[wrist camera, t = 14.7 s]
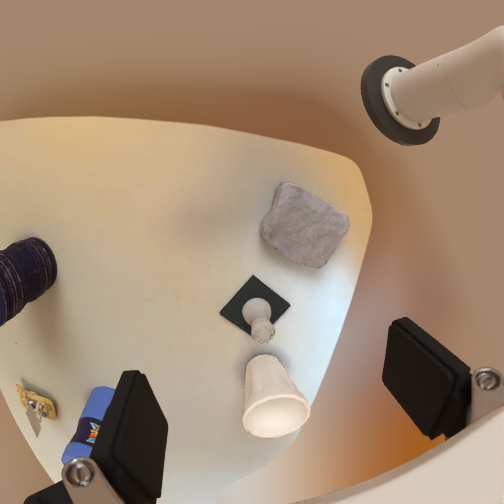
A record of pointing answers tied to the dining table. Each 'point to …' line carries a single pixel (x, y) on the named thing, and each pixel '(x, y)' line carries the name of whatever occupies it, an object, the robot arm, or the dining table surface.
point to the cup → (271, 399)
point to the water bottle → (89, 424)
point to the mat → (246, 293)
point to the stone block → (303, 226)
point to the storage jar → (24, 275)
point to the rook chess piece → (259, 319)
